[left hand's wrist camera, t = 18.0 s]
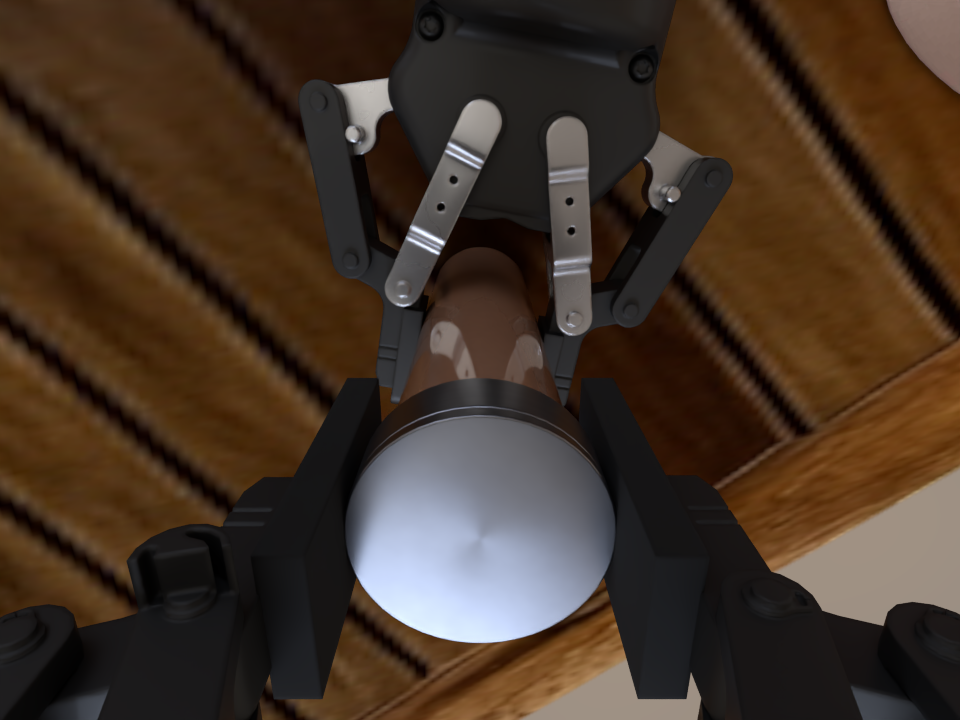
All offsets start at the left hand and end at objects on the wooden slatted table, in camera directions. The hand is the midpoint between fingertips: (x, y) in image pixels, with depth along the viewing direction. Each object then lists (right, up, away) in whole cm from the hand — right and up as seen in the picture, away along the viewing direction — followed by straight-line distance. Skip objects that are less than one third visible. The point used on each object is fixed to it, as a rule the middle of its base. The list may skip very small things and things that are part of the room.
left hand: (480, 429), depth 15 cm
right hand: (0, 0, +8) cm, 8 cm away
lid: (0, -1, -4) cm, 4 cm away
